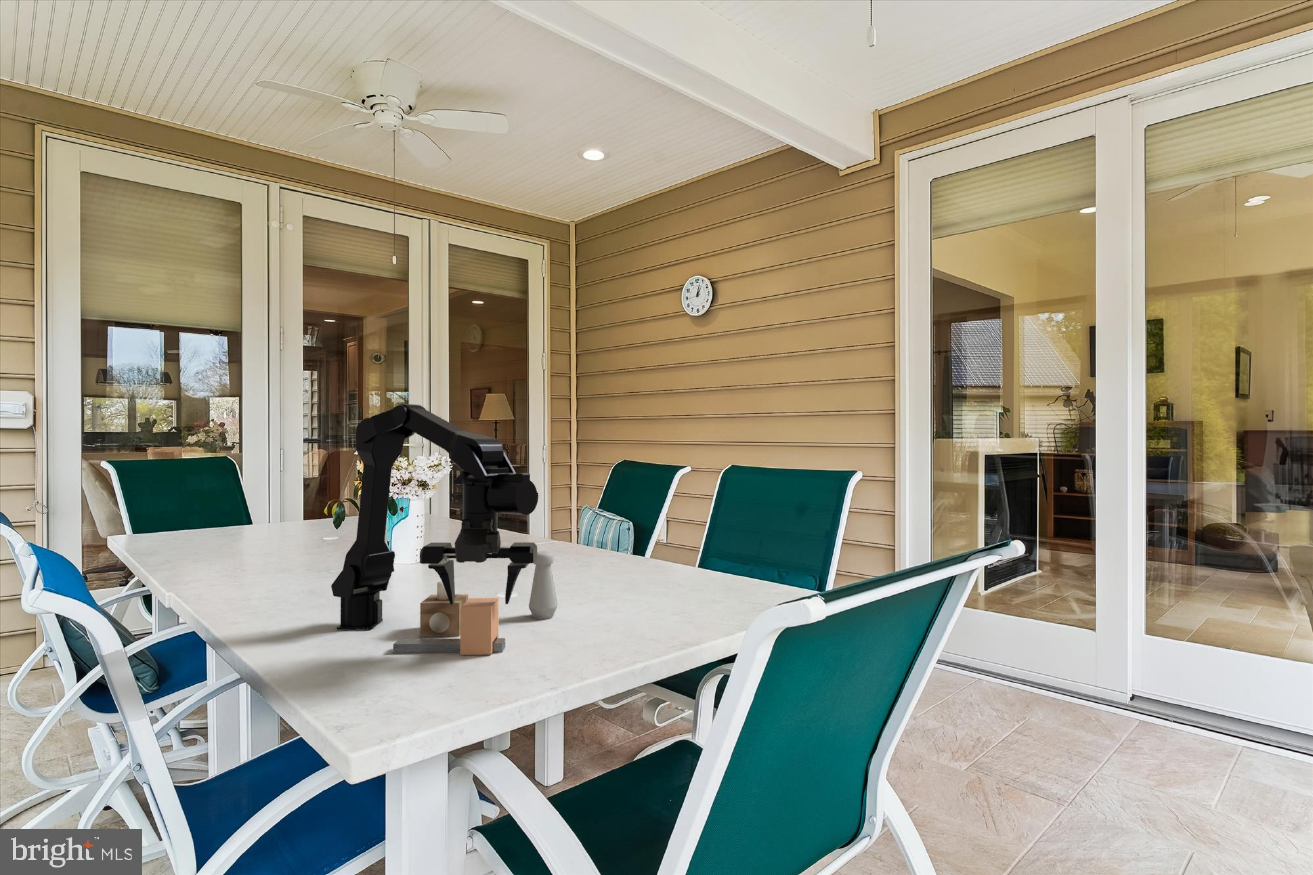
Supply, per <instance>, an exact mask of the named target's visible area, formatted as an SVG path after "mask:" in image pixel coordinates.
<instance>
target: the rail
mask: <svg viewBox="0 0 1313 875" xmlns="http://www.w3.org/2000/svg"><path fill="white" fill-rule="evenodd" d="M505 648H506V637H498V638H495V640H494V641H493V643H492V653H503V651H504V650H505ZM392 653H393V654H435V653H436V654H441V653H442V654H445V653H446V654H447V653H448V654H450V653H451V654H454V653H455V654H456V653H457V654H459V653H460V638H399V639H397V640H396V641H395V642H394V643H393V645H392Z"/></svg>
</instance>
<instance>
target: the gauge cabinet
mask: <svg viewBox="0 0 1313 875" xmlns="http://www.w3.org/2000/svg"><path fill="white" fill-rule="evenodd" d="M468 599H469V594H468V593H467V594H466V593H465V594H463V593H462V594H459V593H458V594H456V593H455V599H454V604H450V602H449V599H447V600H439V599H437V594H430V595H428V596H427V597H426V598H425V599H423V600H422V601H421V602H420V603H419V604H420V606H419V608H420V609H419V610H420V611H419V617H420V618H419V620H420V621H419V625H420V626H419V631H420V632H419V634H420V636H419V637H460V622H461V606H462V605H463V604H464V603H465V602H466V601H467V600H468Z"/></svg>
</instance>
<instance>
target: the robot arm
mask: <svg viewBox="0 0 1313 875" xmlns="http://www.w3.org/2000/svg"><path fill="white" fill-rule="evenodd" d="M415 434H416V435H418V436H420V437H421V438H424V439H425V440H427V441H429V442H431V443H432V444H433V445H436V446H438V447H439V448H441V449H442V450H444V451H445V452H447V454H448V457H449V458H450V460H451V461H452V462H453V463H454V464H455V465H456V466H457V467H458V468H460V469H461V470H462V471H461V473H460V474H459V475H458V476H457V477H455V479H453V481H452V483H453V484H454V485H460V486H461V485H462V519H461V526H460V531H459V533H458V535H457V538H456V539H455V541H454V547H453V544H452V542H430V543H428V544H426V545H424V546H423V547H422V548H421V549H420V552H419V564H422V565H427V567H428V569H429V570H434V571H435V572H436V574H438V577H439V578H440V580H441V581H442V583H443V585H444V588H445V591H446V594H447V596H448V599H449V602H450V604H454V599H455V594H456V590H455V589H456V588H455V587H456V586H455V584H456V583H455V562H454V561H456V562H457V563H460V564H462V563H463V564H464V563H466V562H469V563H471V562H474V563H477V564H478V563H480V564H481V563H485V562H486V561H487V559H509V561H510V563H509V564H508V565H507V576H506V577H507V578H506V586H505V594H504V595H505V596H504V599H505V600H504V602H505V605H509V603H510V600H511V596H512V594H513V591H514V588H515V585H516V583H517V581H518V580H517V579H518V577H519V575H520V572H521V571H522V569H526V568H527V567H528V566H529V564H530V565H531V564H533V563H534V561H535V560H536V559H537V552H538V545H537V544H536V543H535V542H528V541H527V542H523V541H522V542H521V541H519V542H513V543H512V544H511V545H510V546H508V547H504V546H503V547H502V546H501V544H502V543H501V534H500V531H499V530H498V522H499V521H498V520H499V519H498V518H499V517H498V514H504V515H507V514H508V515H519V516H520V515H521V516H528V515H530V514H531V515H532V513H533V512H534V511H535V509H536V507H537V505H538V502H539V492H538V490H537V487H536V485H535V483H534V482H533V481H532V480H531V474H530V473H529V472H522V473H521V472H520V473H516V471H515V469H514V467H513V465H512V463H511V462H510V460H509V458H508V456H507V454H506V453H505V451H504V449H503V447H504V446H503V443H502V442H501V441H500V440H499V439H497V438H494V437H491V436H488V435H483V434H480V433H474V432H469V431H466V430H463V429H462V428H460V427H458V426H457V425H455V424H453V423H451V422H449V421H447V420H445V419H443V418H442V417H440V416H438V415H436V414H434V413H432V412H431V411H430V410H427V409H426V408H425V407H424V406H422V405H421V404H413V403H412V404H409V403H400V404H399V405H396V406H394V407H393V408H391V409H389V410H387V411H386V410H385V411H384V412H381V413H377V414H375V415H372V416H370V417H365V418H364V419H361V421H360V422H358V423H357V425H356V429H355V450H356V453H357V455H358V457H359V458H360V460H361V462H362V464H363V466H362V476H361V477H362V478H361V486H360V488H361V489H360V497H359V509H358V518H357V519H358V520H357V528H356V529H357V530H356V539H355V541H354V543H353V544H352V545H351V547H350V548H349V549H348V551H347V552H346V554H345V557H344V562H343V567H342V570H341V571H340V573H339V574H338V575H337V576H336V578H335V579H334V581H333V583H332V584H331V585H330V587H331V591H332V595H333V597H337V598H340V622H339V623H340V625H339V624H338V625H337V626H336V630H345V631H346V630H355V631H356V630H372V629H374V628H375V627H377V626H378V625H379V624H381V623H382V622H383V621H384V619H383V599H381V598H380V595H381V594H380V592H385V591H387V590H388V586H389V582H390V579H391V576H392V573H394V572H395V567H394V564H395V563H394V562H395V558H396V554H395V550H390V549H389V547H388V545H387V543H386V541H385V540H386V529H387V520H388V508H389V500H390V490H391V479H392V468H393V466H394V464H395V463H396V461H397V460H398V459H399V457H400V455H402V453H403V449H404V444H405V441H406V440H407V439H409V438H410V437H413V436H414V435H415Z"/></svg>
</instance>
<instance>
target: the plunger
mask: <svg viewBox="0 0 1313 875" xmlns="http://www.w3.org/2000/svg"><path fill="white" fill-rule="evenodd" d="M436 595H437V599H439V600H447V599H448V596H447V594H446V591H445V588H444V585H443V583H442V580H441V581H438V582H436Z"/></svg>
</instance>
